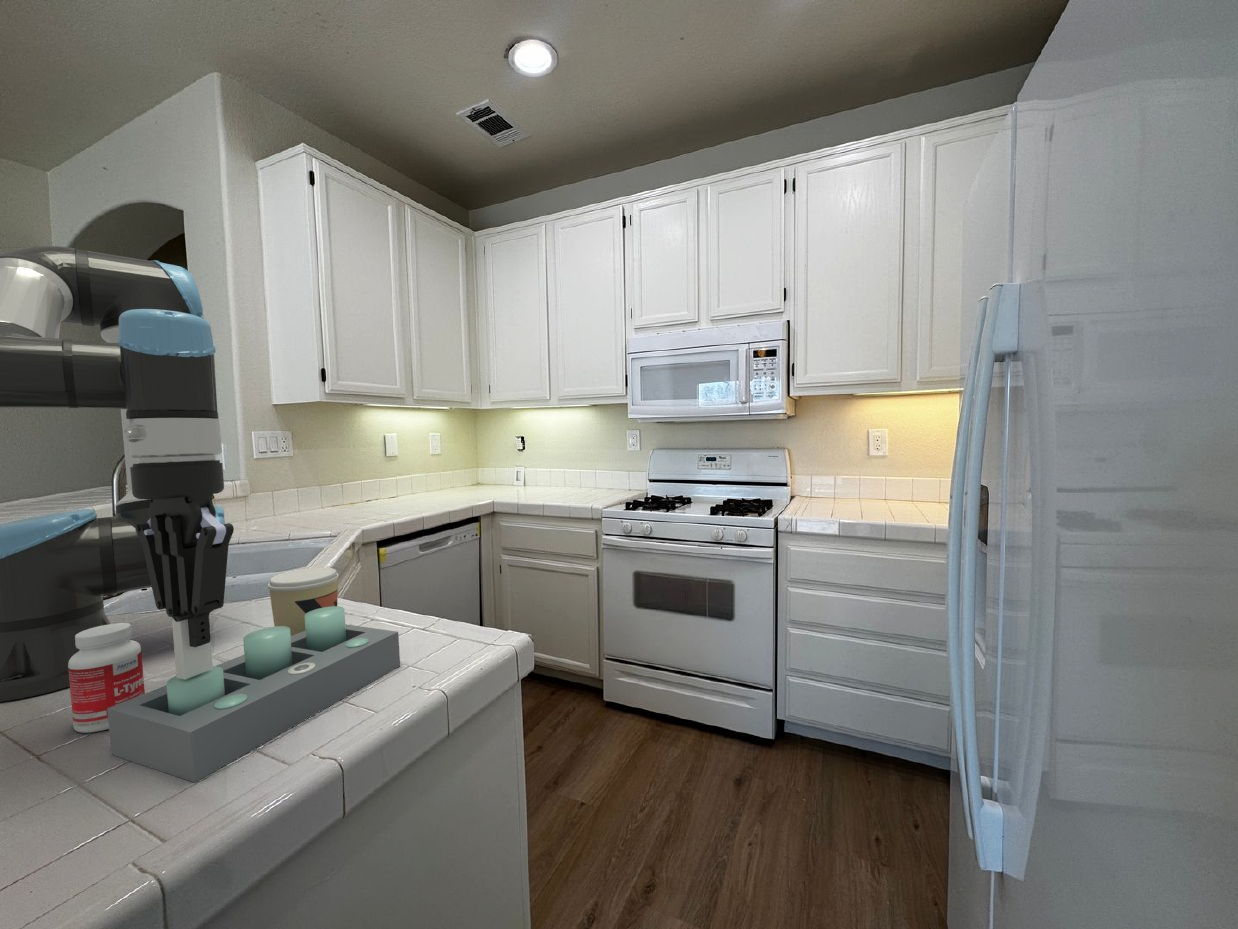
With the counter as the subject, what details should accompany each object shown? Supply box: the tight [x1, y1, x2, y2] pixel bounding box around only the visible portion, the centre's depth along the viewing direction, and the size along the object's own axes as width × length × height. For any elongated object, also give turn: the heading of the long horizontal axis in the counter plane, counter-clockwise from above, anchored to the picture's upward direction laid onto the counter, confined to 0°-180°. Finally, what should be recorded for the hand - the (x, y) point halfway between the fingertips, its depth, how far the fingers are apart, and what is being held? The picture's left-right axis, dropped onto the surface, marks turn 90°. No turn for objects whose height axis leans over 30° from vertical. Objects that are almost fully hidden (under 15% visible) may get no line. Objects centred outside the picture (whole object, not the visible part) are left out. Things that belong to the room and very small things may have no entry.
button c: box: [305, 605, 346, 652], centre depth 71 cm, size 5×5×5 cm
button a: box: [165, 665, 225, 716], centre depth 56 cm, size 5×5×5 cm
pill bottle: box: [68, 622, 146, 734], centre depth 61 cm, size 6×6×11 cm
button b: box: [242, 626, 293, 680], centre depth 64 cm, size 5×5×5 cm
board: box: [107, 623, 401, 784], centre depth 63 cm, size 14×26×5 cm, turn 159°
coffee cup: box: [267, 566, 340, 636], centre depth 80 cm, size 9×9×12 cm
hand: (195, 672), depth 56 cm, fingers closed
